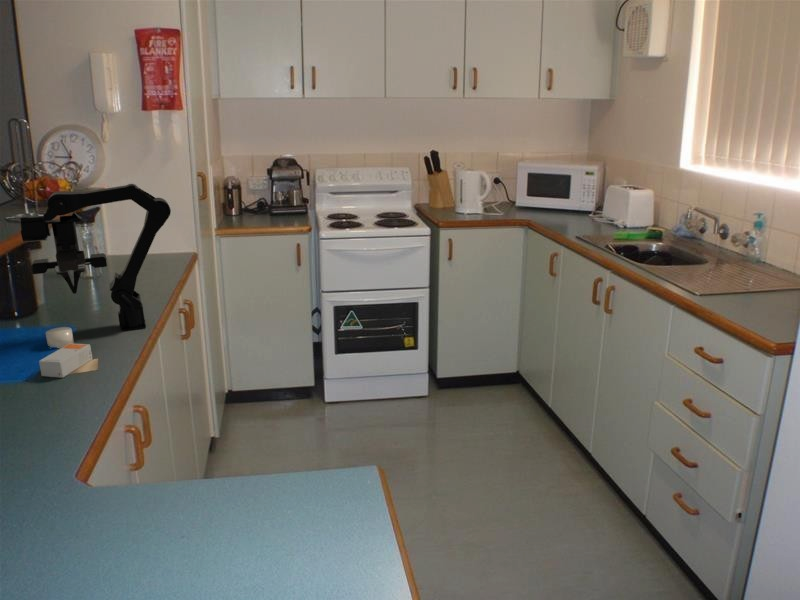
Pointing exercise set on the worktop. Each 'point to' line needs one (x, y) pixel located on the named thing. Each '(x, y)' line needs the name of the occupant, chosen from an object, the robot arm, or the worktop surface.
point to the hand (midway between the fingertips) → (74, 293)
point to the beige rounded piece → (59, 337)
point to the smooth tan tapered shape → (87, 367)
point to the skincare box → (65, 360)
